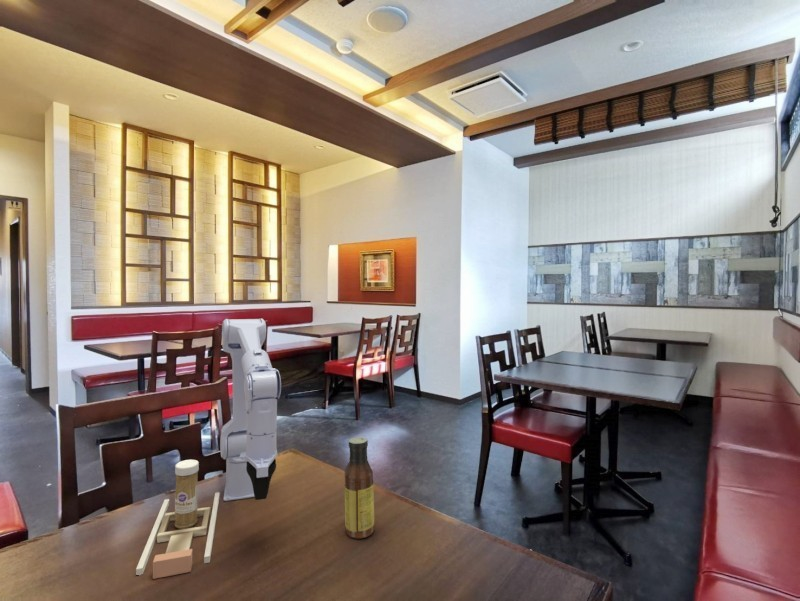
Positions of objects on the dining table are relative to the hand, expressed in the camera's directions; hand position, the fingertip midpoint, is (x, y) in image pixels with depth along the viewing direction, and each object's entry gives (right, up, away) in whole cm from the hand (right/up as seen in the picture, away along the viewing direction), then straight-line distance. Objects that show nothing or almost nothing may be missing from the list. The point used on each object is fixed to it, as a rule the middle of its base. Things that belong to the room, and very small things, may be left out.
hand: (260, 497), depth 83 cm
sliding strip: (-16, -9, 0) cm, 18 cm away
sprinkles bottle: (-18, -9, +7) cm, 22 cm away
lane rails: (-18, -9, +4) cm, 20 cm away
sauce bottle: (+19, -10, +5) cm, 22 cm away
